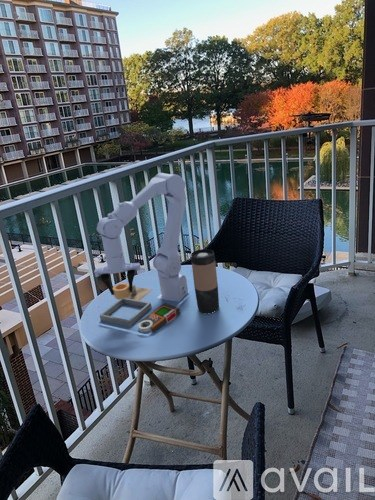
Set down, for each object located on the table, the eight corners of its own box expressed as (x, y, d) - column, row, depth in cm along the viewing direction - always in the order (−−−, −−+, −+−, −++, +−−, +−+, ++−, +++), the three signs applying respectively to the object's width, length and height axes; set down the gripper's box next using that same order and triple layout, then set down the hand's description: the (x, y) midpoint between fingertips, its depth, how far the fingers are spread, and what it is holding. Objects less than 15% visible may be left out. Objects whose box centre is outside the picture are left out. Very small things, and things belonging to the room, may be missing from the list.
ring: (130, 297, 120) (128, 289, 119) (113, 299, 120) (111, 291, 119) (131, 287, 127) (130, 279, 126) (115, 289, 127) (114, 282, 125)
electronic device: (133, 324, 115) (165, 301, 125) (135, 332, 117) (167, 308, 126) (147, 331, 111) (180, 306, 121) (149, 338, 112) (181, 313, 122)
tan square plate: (152, 291, 140) (151, 281, 138) (137, 304, 132) (135, 293, 130) (131, 287, 145) (129, 278, 143) (115, 299, 137) (113, 290, 135)
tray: (151, 308, 127) (150, 302, 126) (130, 328, 117) (129, 321, 116) (123, 303, 133) (122, 297, 132) (101, 321, 123) (99, 315, 122)
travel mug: (224, 306, 123) (219, 251, 116) (210, 316, 118) (203, 260, 111) (207, 300, 128) (201, 247, 121) (192, 310, 123) (185, 255, 116)
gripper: (137, 247, 121) (144, 283, 126) (93, 253, 120) (101, 289, 125) (136, 254, 115) (143, 293, 120) (90, 261, 114) (99, 299, 119)
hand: (122, 292), depth 122 cm, fingers closed on ring, 5 cm apart
